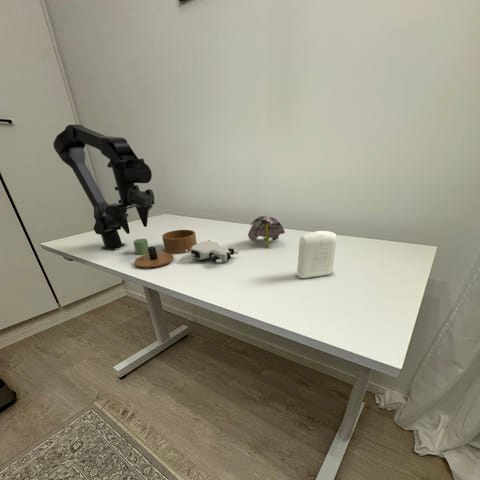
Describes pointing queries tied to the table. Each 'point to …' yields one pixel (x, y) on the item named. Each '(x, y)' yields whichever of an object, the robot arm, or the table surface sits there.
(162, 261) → the wooden lid
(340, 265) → the table surface
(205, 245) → the robot toy
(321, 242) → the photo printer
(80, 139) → the robot arm
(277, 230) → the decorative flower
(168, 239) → the brown shallow round container
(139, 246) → the candle
